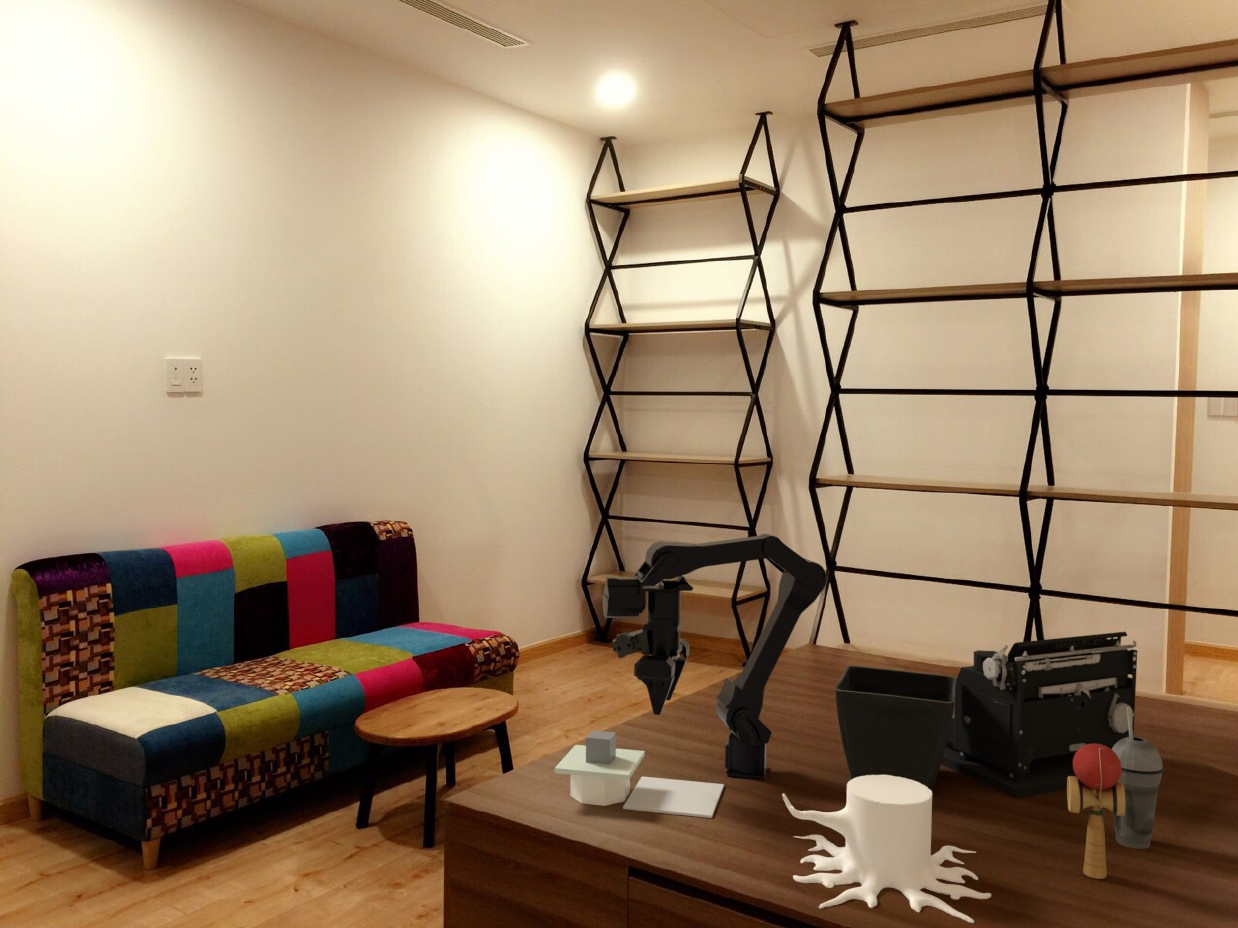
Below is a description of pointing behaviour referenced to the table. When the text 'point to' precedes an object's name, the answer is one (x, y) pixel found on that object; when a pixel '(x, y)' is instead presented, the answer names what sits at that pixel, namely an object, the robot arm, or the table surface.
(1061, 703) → the typewriter
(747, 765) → the robot arm
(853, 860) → the tree stump
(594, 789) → the bowl
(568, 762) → the cover sheet
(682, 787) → the mat
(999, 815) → the table surface
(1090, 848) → the kendama
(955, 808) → the table surface
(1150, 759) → the beverage cup
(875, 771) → the flower pot
